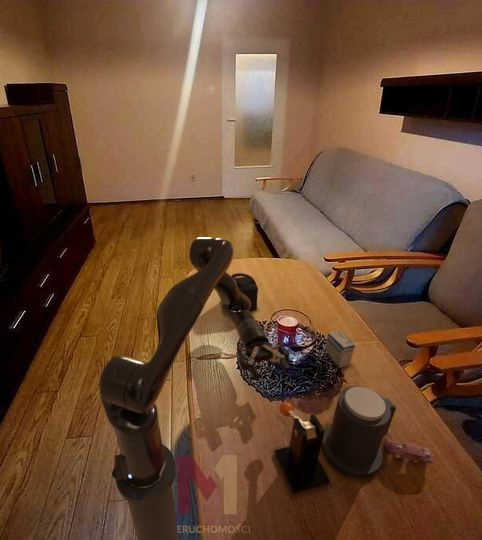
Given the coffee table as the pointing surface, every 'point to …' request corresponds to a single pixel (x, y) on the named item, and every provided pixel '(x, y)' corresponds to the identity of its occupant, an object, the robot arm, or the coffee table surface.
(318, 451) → the switch stand
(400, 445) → the pink elongated piece
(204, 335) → the coffee table surface
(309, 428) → the orange knob lever
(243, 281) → the camera
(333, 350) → the medicine box
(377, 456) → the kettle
